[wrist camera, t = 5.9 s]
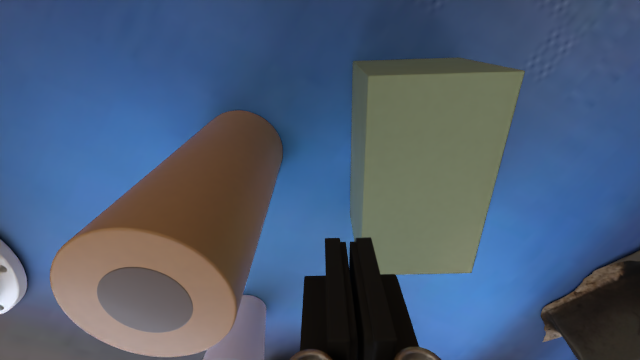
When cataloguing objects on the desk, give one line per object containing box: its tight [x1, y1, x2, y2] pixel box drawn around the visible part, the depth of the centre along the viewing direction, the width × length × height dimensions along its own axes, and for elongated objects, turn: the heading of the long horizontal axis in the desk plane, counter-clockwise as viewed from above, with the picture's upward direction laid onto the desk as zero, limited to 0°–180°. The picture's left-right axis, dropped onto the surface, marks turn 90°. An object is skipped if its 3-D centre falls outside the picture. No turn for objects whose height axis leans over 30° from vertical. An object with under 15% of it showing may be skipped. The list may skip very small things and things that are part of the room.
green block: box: [350, 58, 525, 275], centre depth 19 cm, size 7×12×7 cm, turn 2°
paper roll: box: [50, 110, 283, 357], centre depth 16 cm, size 13×6×15 cm, turn 94°
